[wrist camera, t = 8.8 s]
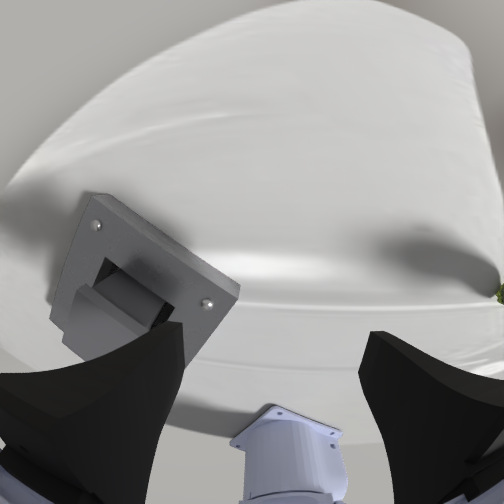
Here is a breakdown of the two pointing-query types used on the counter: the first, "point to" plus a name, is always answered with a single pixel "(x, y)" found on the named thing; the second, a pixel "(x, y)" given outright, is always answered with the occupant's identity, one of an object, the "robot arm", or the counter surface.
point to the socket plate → (144, 270)
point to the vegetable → (500, 295)
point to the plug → (110, 315)
